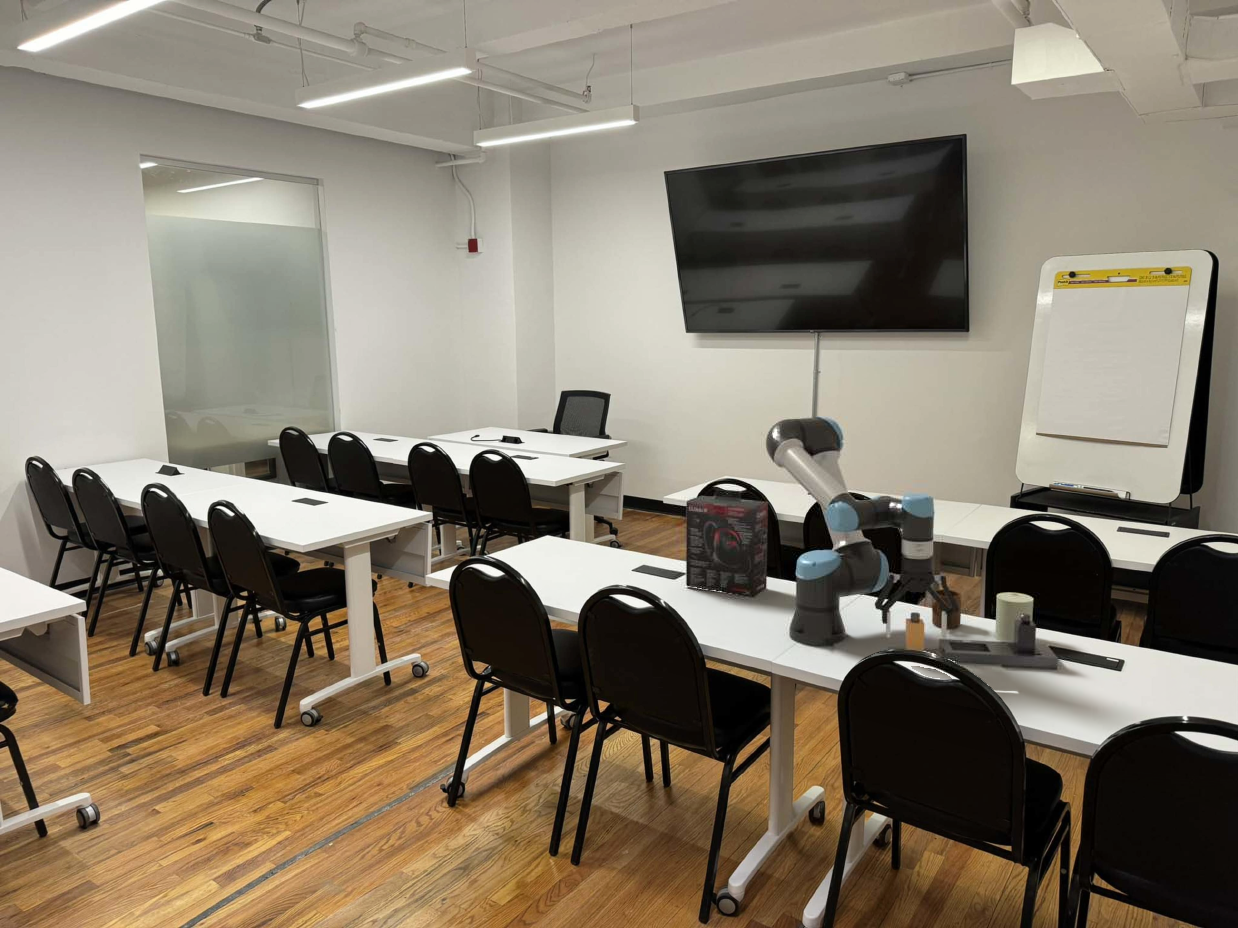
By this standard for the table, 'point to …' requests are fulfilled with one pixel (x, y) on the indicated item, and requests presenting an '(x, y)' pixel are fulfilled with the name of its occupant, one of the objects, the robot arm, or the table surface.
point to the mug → (938, 610)
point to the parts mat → (924, 649)
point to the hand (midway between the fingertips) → (915, 636)
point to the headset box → (726, 543)
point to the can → (1010, 613)
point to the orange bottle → (914, 633)
